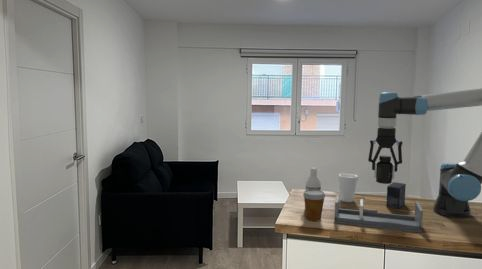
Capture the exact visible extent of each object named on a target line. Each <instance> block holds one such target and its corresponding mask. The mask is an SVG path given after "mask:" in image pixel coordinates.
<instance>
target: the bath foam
mask: <svg viewBox="0 0 482 269" xmlns="http://www.w3.org/2000/svg"><path fill="white" fill-rule="evenodd" d="M317 174H318V168H317V167H314V166H313V167H310V176H309V177H308V178H307V180H306V181H305V182H306V183H305V191H306V190H320V191H322V185H321V181H320V179H319V177H318V175H317Z"/></svg>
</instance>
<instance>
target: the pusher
mask: <svg viewBox="0 0 482 269" xmlns="http://www.w3.org/2000/svg"><path fill="white" fill-rule="evenodd" d="M359 211H360V215H359V219H363V212H371V213H379V212H378V210H377V209H367V208H364V199H362V198H360V199H359Z"/></svg>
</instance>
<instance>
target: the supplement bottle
mask: <svg viewBox="0 0 482 269" xmlns="http://www.w3.org/2000/svg"><path fill="white" fill-rule="evenodd" d="M378 158H379V161H376V163H377V172H376V178H375V182H376V183H378V184H382V185H383V184H384V185H390V184H392V183H393V179H392V171H393V164H394V163H393V162H391V161H392V155H382V154H381V155H378Z"/></svg>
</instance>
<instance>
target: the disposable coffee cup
mask: <svg viewBox="0 0 482 269" xmlns="http://www.w3.org/2000/svg"><path fill="white" fill-rule="evenodd" d="M302 196H303V200H304V209H305V219H306V220H307V221H311V222H319V221H321V219H322V214H323V209H324V208H323V207H324V203H325V198H326V195H325V192H324V191H323V190H321V191H320V190H306V189H305V190H304V192H303V194H302Z"/></svg>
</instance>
